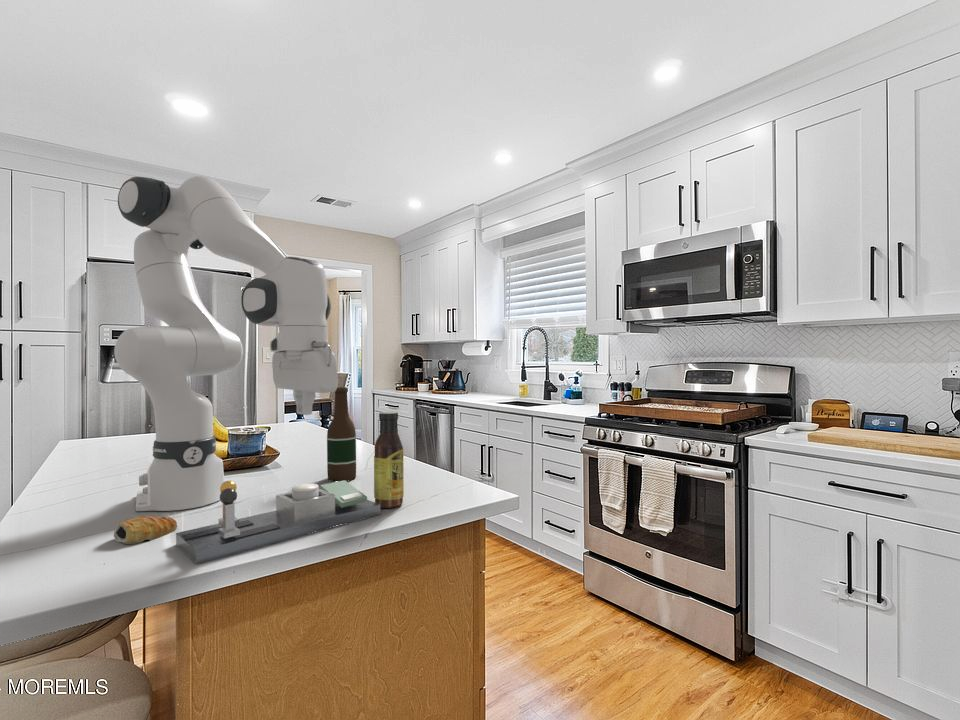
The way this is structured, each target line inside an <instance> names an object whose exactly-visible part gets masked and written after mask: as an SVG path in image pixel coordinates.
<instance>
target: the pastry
mask: <svg viewBox="0 0 960 720" xmlns="http://www.w3.org/2000/svg"><path fill="white" fill-rule="evenodd" d="M177 528H178V523H177V521H176V520H175V519H174V518H173V517H170V516H162V517H160V516H157V515H152V516H151V515H149V516H138V517H135V518H130V519H126V520H123V521H120V522H117V525H116V527H115V528H114V532H113V538H114V539H115V541H116V542H117V543H120V542H122V543H121V544H125V545H136V544H139V543H143V542H144V541H146V540H149V541H152V540H155V539H158V538H161V537H163V536H166V535H168V534H171V533H172V532H174V531H175V530H177Z"/></svg>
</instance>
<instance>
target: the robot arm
mask: <svg viewBox="0 0 960 720" xmlns="http://www.w3.org/2000/svg"><path fill="white" fill-rule="evenodd" d="M117 206H118V209H119V212H120V214H121V216H122V217H123V218H124V219H126V220H127V221H128V222H130V223H132V224H134V225H135V226H136V225H137V226H138V227H142V228H147V229H148V230H146V231H143V232H141V233H139V234H138V235H137V236H136V238H135V239H134V242H133V262H134V271H135V275H136V276H135V277H136V279H137V285H138V290H139V293H140V297H141V301H142V302H141V303H142V306H143V307H144V309H145V310H146V312H147V313H148V314H149V315H151V316H152V317H154V318H156V319H158V320H159V321H162V322H163V323H164V324H166V325H147V326H138V327H137V326H136V327H132V328H128V329H125V330H124V331H122V333H121V334H120V335H119V337H118V338H117V340H116V341H115V345H114V350H113V351H114V358H115V361H116V363H117V365H118V366H119V369H121V370H122V371H123V372H124V373H125V374H127V375H129V376H131V377H132V378H133V379H135V380H136V382H138V383H139V384H140V385H141V386H142V388H144V390H145V391H146V392H147V394H148V396H149V398H150V401H151V403H152V407H153V415H154V424H155V425H154V427H155V440H154V441H153V445H152V457H153V459H152V462H151V464H150V465H149V467H148V469H147V473H143V474H141V475H139V476H138V486H139V487H143V486H147V487H143V488H142V490H141V491H137V492H136V498H135V499H136V500H135V501H136V502H135V511H136V512H145V511H146V512H147V511H148V512H149V511H158V512H160V511H161V512H165V511H167V512H168V511H169V512H170V511H171V512H172V511H180V510H187V509H188V510H189V509H194V508H195V509H196V508H199V507H203V506H208V505H210V504H214V503H216V502H218V501H220V493H221V491H220V487H221V485H222V483H224V482H225V475H224V461H223V459H222V458H221V457H219V456H217V455H216V453H215V452H216V451H217V447H216V446H217V441H216V436H215V435H214V407H213V404H212V402H211V401H210V400H209V398H208V397H206V396H205V395H203V394H201V393H199V392H196V391H194V390H193V389H192V388H191V387H190V385H189V382H188V377H191V376H194V377H197V376H216V375H219V374H220V375H221V374H224V373H228V372H233V371H235V370H236V369H237V368H238V367H239V365H240V363H241V362H242V360H243V355H244V348H243V343H242V341H241V339H240V338H239V337H238V335H237V333H235V332H233V331H231V330H229V329H228V328H226V327H225V326H224V325H222V324H221V323H219V322H218V320H217V319H215V318H214V316H213V315H212V314H211V313H210V311H208V309H207V308H206V306H205V305H204V304H203V301H202V298H201V297H200V294H199V291H198V289H197V284H196V282H195V278H194V275H193V271H192V268H191V264H190V261H189V258H188V257H189V255H188V253H189V252H188V251H189V248H192V249H194V250H199V249H202V248H203V247H205V248H206V249H207V250H209V251H210V252H211V253H213V254H214V255H216V256H217V257H221V258H225V259H227V260H231V261H235V262H239V263H241V264H245V265H247V266H250V267H253V268H255V269H257V270H259V271H261V272H262V273H263V274H265V275H263V276H261V277H254V278H253V279H251V280H250V281H249V282H248V283H247V284H246V285H245V287H244V288H243V290H242V293H241V308H242V311H243V314H244V315H245V317H246V318H247V320H248V321H249V322H250V323H252V324H255V325H259V326H263V327H276V328H278V332H277V335H275V337H274V338H273V339H272V340H271V341H270V343H269V349H270V352H272V353H273V354H272V358H271V359H272V360H271V361H272V364H271V365H272V367H271V368H272V379H273V384H274V387H275V388H276V389H279V390H280V389H283V390H290V391H292V393H293V395H292V396H293V399H294V401H295V405H296V414H298V415H303V416H309V415H312V414H313V405H314V403H315V399H316V394H317V393H318V394H324V393H325V394H327V393H328V394H329V393H335V391H336V389H337V387H339V379H338V378H339V377H338V366H337V365H338V364H337V359H336V355H335V353H334V352H333V350H332V347H331V346H330V345H329V338H328V337H329V332H328V331H329V329H328V328H329V327H328V322H327V320H328V319H329V316H330V314H331V309H332V308H331V307H332V306H331V304H332V303H331V299H330V296H329V294H328V283H327V275H326V272H325V268H324V266H323V265H322V264H321V263H320V262H318V261H316V260H312V259H307V258H301V257H296V256H289V255H288V254H287V253H286V252H285V251H284V249H282V248H281V247H280V246H279V245H278V243H276V242H275V241H274V240H273V239H272V238H271V237H269V236H268V235H267V234H266V233H265V232H264V231H263V230H262V229H260V227H259V226H257V225H256V223H255V222H254V221H253V220H251V218H249V216H248V214H247V213H246V212H245V211H244V210H243V208H241V207H240V205H239V203H238V202H237V200H235V198H234V197H233V196H232V195H231V194H230V192H228V191H227V190H226V189H225V187H224V186H222V185H221V184H220V183H218V182H217V181H216V180H215V179H213V178H211V177H207V176H203V175H201V176H199V175H197V176H193V177H190V178H188V179H185V181H183V182H182V183H181V185H180V187H178V186H175V185H172V184H169V183H166V182H165V181H163V180H158V179H155V178H152V177H147V176H132V177H131V178H129V179H127V180H126V181H124V182H123V183H122V185H121V187H120V188H119V191H118V195H117Z"/></svg>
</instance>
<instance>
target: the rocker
mask: <svg viewBox="0 0 960 720" xmlns="http://www.w3.org/2000/svg"><path fill="white" fill-rule="evenodd" d="M319 489H322V490H324V491H327V492H329V493H332V494H335V503H336V504H338V505H339V506H340V507H341V508H342V507H346V506H351V505H355V504H359V503H363V502H367V500H368V496H367V495H365V494H364V493H362V491H360V490H358V489H357V488H356V487H354V486H353V485H352V484H350V483H349V481H345V480H343V481H338V482H334V481H332V482H328V483H324V484H320V486H319Z"/></svg>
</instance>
